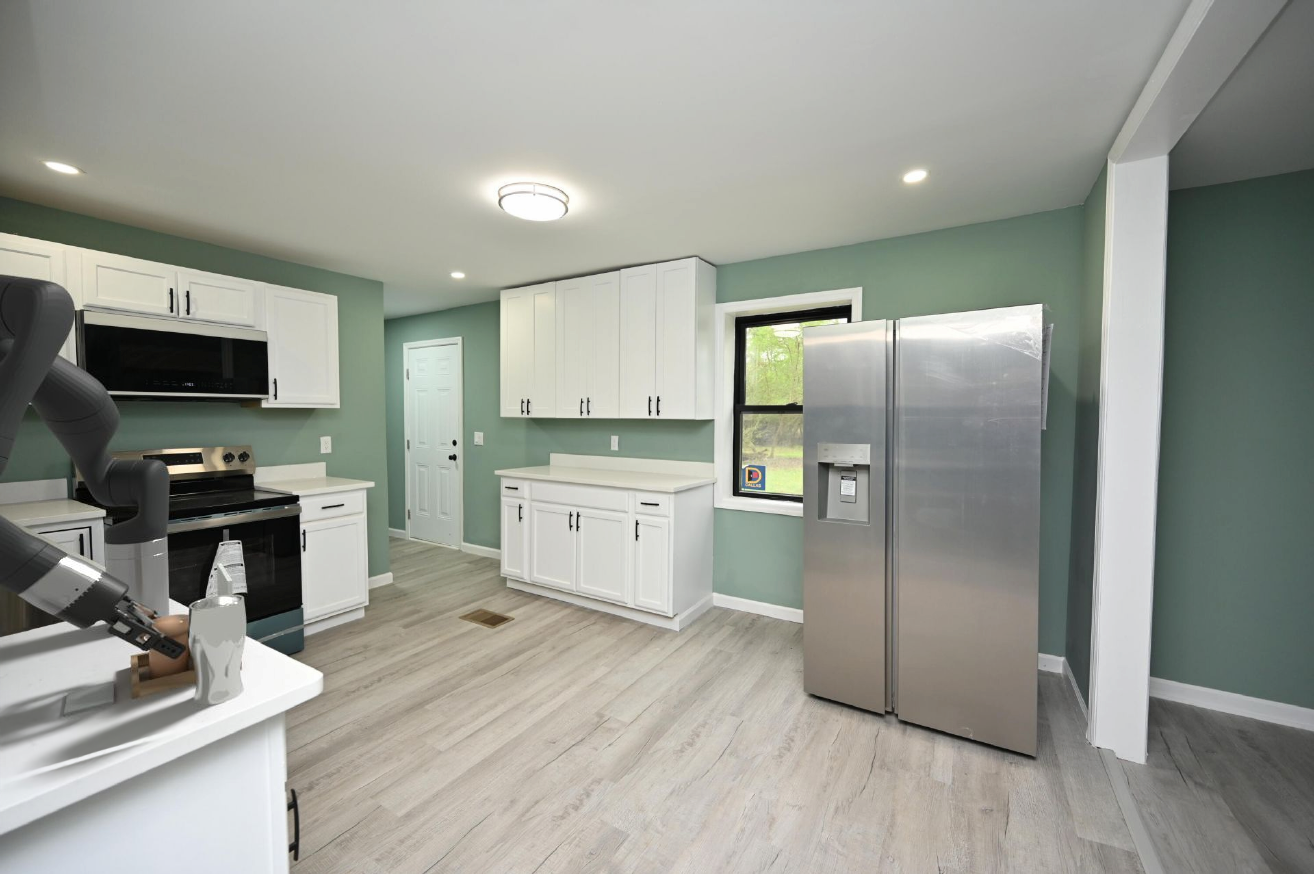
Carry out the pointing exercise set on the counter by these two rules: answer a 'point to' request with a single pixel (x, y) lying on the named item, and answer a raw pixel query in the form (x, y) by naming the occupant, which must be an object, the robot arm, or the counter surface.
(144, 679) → the open wooden box
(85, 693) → the tile
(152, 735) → the counter surface
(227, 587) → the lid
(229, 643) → the beer glass
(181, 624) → the peach mushroom shaped stopper
